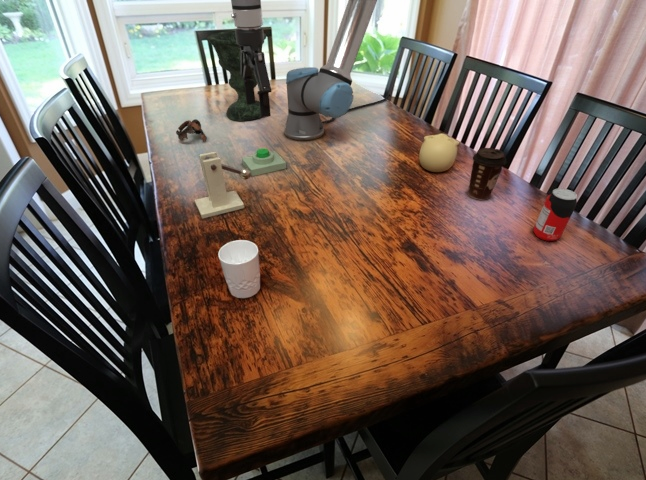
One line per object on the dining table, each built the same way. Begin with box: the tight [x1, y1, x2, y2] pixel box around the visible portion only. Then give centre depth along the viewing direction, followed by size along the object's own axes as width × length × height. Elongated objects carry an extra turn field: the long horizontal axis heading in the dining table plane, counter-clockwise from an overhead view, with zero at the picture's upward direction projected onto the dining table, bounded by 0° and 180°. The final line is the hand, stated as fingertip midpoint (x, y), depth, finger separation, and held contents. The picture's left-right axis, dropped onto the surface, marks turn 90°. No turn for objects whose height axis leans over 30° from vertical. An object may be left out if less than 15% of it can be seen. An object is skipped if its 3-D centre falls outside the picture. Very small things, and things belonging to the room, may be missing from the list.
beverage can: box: [533, 187, 578, 242], centre depth 92 cm, size 6×6×12 cm
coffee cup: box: [467, 147, 508, 201], centre depth 108 cm, size 9×8×13 cm
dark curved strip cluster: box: [175, 118, 207, 143], centre depth 144 cm, size 12×10×8 cm
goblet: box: [207, 30, 267, 122], centre depth 157 cm, size 22×23×30 cm
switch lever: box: [205, 156, 252, 180], centre depth 103 cm, size 13×3×3 cm, turn 116°
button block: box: [241, 150, 287, 177], centre depth 126 cm, size 12×10×4 cm
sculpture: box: [418, 133, 460, 173], centre depth 122 cm, size 12×12×11 cm
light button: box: [255, 148, 270, 158], centre depth 124 cm, size 4×4×2 cm
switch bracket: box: [194, 151, 246, 220], centre depth 104 cm, size 12×9×15 cm
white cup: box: [217, 239, 261, 299], centre depth 79 cm, size 8×8×10 cm
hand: (258, 109), depth 115 cm, fingers open, 13 cm apart
